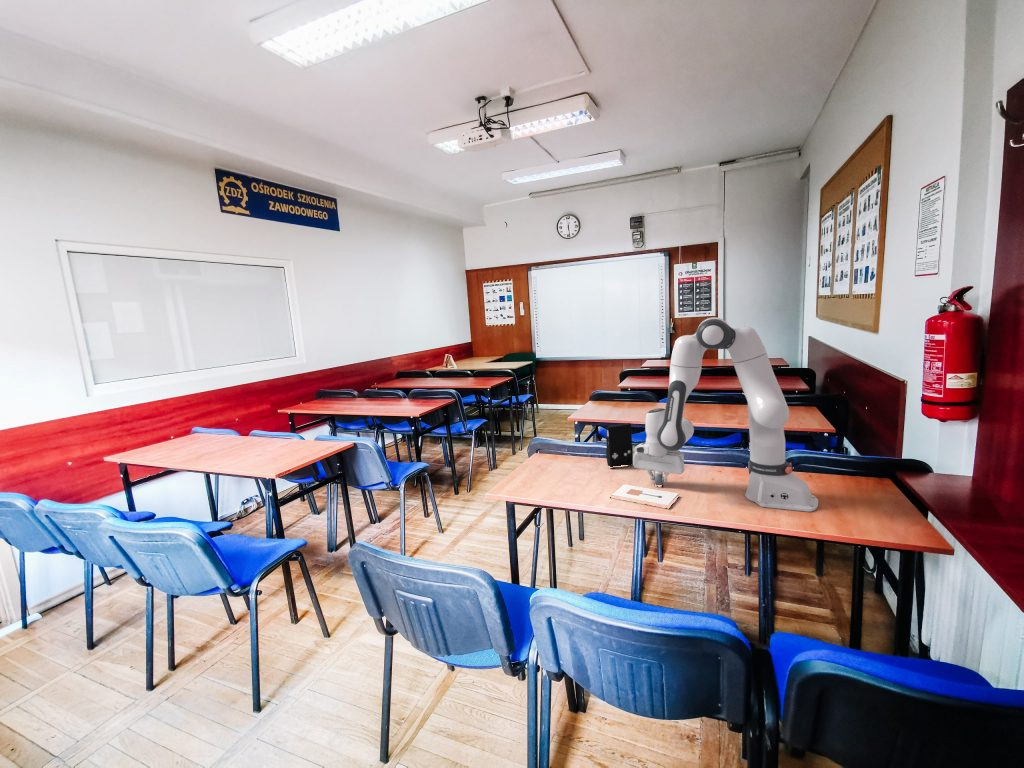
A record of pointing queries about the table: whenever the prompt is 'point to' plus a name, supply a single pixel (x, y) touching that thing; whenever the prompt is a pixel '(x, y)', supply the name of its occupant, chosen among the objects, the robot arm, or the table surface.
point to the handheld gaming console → (619, 445)
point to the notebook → (645, 494)
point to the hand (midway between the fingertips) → (658, 480)
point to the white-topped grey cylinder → (658, 477)
